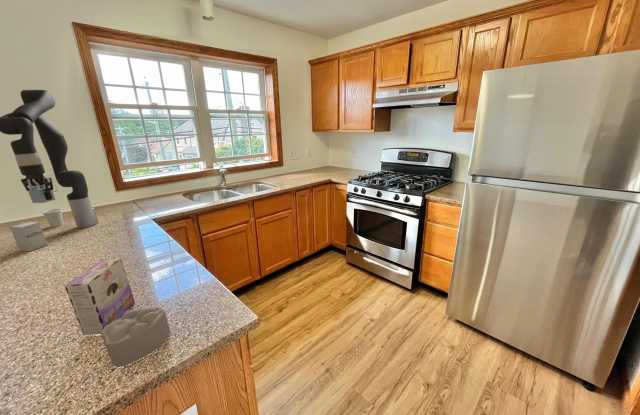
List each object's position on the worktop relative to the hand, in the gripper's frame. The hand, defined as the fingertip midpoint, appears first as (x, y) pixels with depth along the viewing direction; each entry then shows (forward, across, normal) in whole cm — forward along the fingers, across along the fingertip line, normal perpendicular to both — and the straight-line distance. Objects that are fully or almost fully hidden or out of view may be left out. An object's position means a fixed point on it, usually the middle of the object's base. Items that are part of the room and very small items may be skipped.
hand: (43, 199), depth 124 cm
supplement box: (+24, +12, +3) cm, 27 cm away
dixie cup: (+24, +35, -26) cm, 50 cm away
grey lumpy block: (+24, -92, +54) cm, 109 cm away
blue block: (+1, 0, 0) cm, 1 cm away
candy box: (+24, -75, +46) cm, 91 cm away
